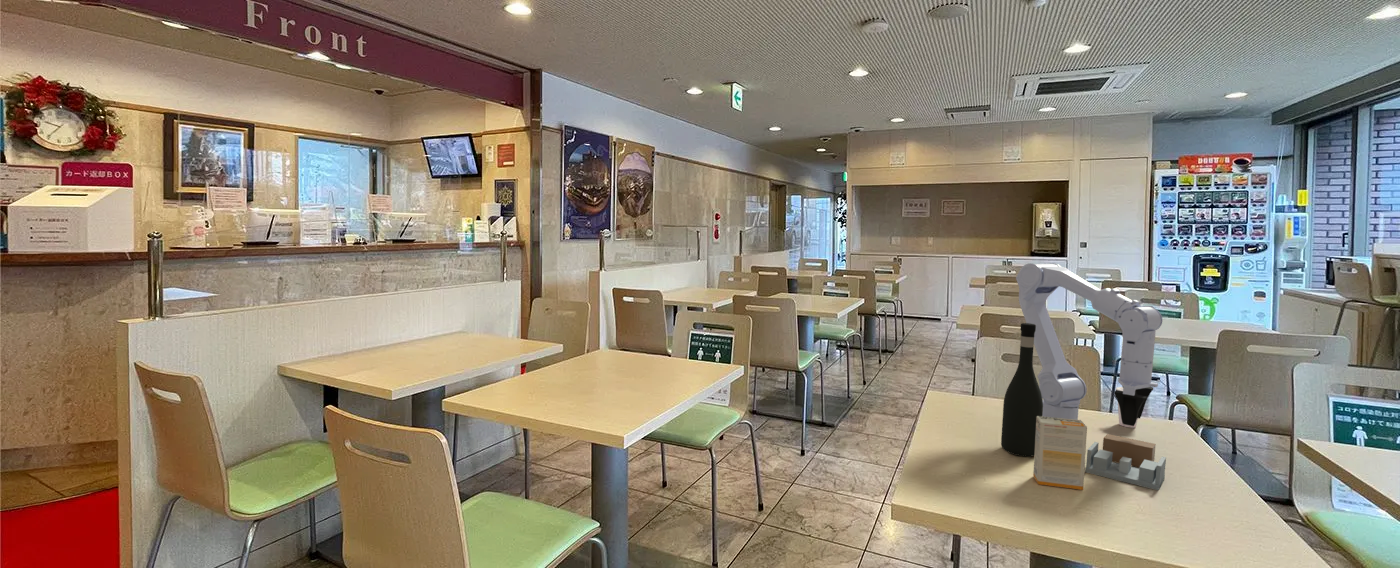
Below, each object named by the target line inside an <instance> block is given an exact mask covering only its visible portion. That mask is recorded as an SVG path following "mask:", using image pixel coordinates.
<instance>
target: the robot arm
mask: <svg viewBox="0 0 1400 568" xmlns="http://www.w3.org/2000/svg"><path fill="white" fill-rule="evenodd" d="M1015 279H1016V282H1017V285H1018V303H1019V304H1018V305H1019V306H1020V309H1021V312H1022V314H1023V318H1024V320H1025V323H1031V324H1035V325H1036V331H1035V334H1034V349H1035V351H1036V354H1037V357H1038V358H1039V361H1040V362H1039V363H1040V364H1041V368H1040V369H1041V370H1040V371H1039V373H1038V374H1037V379H1038V385H1039V388H1040V391H1041V394H1042V400H1043V417H1054V418H1064V419H1075V420H1079V410H1080V409H1079V407H1080V406H1079V405H1080V404H1081V400H1082V399H1084V398H1085V396H1087V395H1086V394H1087V392H1088V391H1087V385H1086V383H1085V381H1084V379H1083V378H1081V377H1080V375H1079V374H1078V371H1077V369H1076V368H1075V367H1074V366H1072V365H1071V364H1069V362H1067V359H1066V357H1065V354H1064V352H1063V351H1064V350H1063V349H1062V346H1061V344H1060V341H1059V338H1058V335H1057V333H1056V332H1057V331H1056V330H1055V327H1054V324H1053V322H1052V319H1051V317H1050V315H1049V312H1048V308H1047V305H1046V301H1048V299H1049V297H1050V296H1051V295H1052V294H1053V293H1054V292H1055V291H1056V290H1057V289H1058V288H1059V287H1060V288H1063V289H1065V290H1067V291H1069V292H1071V293H1073V294H1075V295H1077V296H1079V297H1082V298H1084V299H1085V300H1087V301H1089V302H1090V303H1091V308H1092V309H1093V310H1095V311H1097V312H1098V313H1100V314H1101V315H1104V316H1106V317H1107V318H1109V319H1111V320H1112V321H1114V322H1116V323H1117V324H1118V326H1119V328H1120V329H1121V331H1122V342H1121V355H1120V369H1119V377H1118V379H1117V381H1118V383H1119V384H1120V385H1121V387H1123V391H1118V390H1116V389H1115V391H1114V397H1115V399H1116V400H1117V401H1116V402H1117V404H1118V403H1119V407H1120V412H1121V419H1122V423H1123V424H1125V425H1131V426H1134V425H1135V423H1136V420H1137V418H1138V420H1139V419H1141V417H1142V415H1143V412H1144V409H1145V405H1146V403H1147V401H1148V398H1149V396H1150V395H1151V393H1152V392H1153V390H1154V388H1158V386H1159V383H1158V382H1154V381H1152V376H1153V366H1154V353H1155V343H1156V341H1155V340H1156V331H1158V330H1159V329H1160V328H1161V326H1162V324H1163V315H1162V314H1161V312H1160V311H1159V310H1158V309H1157V308H1155V307H1154V306H1153V305H1141V304H1140V303H1141V302H1140V301H1139V300H1138V299H1130V298H1129V297H1127V296H1125V295H1123V294H1121V290H1119V289H1117V288H1116V287H1115V288H1110V287H1107V288H1102V289H1100V288H1099V287H1097V286H1096V285H1093V284H1092V283H1090V282H1089V281H1087V280H1086V279H1083V278H1082V277H1080V276H1079V275H1077V274H1075V273H1074V272H1072V271H1070V269H1068V267H1065V266H1061V265H1060V264H1058V263H1055V262H1052V263H1051V262H1050V263H1025V264H1024V265H1023V266H1021V268H1020V269H1019V271H1018V273H1017V274H1016V276H1015ZM1138 420H1137V421H1138Z"/></svg>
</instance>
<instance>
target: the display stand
mask: <svg viewBox="0 0 1400 568" xmlns="http://www.w3.org/2000/svg"><path fill="white" fill-rule="evenodd" d="M1112 456H1113V452H1109V451H1105V450H1103V449H1099V442H1098V441H1097V442H1096V441H1094V442H1093V443H1092V444H1091V445H1090V447H1088V448H1087V449H1086V461H1085V470H1084V473H1087V474H1091V475H1096V476H1099V477H1104V478H1107V479H1110V480H1111V479H1112V480H1114V481H1115V480H1116V481H1120V482H1124V483H1128V484H1131V485H1137V486H1140V487H1143V488H1148V489H1151V490H1155V491H1159V490H1160V489H1161V486H1163V483H1164V481H1165V475H1166V465H1167V463H1166V461H1167V456H1161V457H1160V459H1159V461H1158V462H1157V461H1155V460H1154V461H1149V460H1145V459H1144V461H1143V462H1142V464H1141V466H1140V467H1135V466H1131V460H1132V459H1131V458H1127V457H1122V458H1121V459H1120V463H1118V462H1113V461H1112Z"/></svg>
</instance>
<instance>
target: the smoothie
mask: <svg viewBox="0 0 1400 568" xmlns="http://www.w3.org/2000/svg"><path fill="white" fill-rule="evenodd" d="M1116 390H1118V391H1123V387H1122V386H1117V387H1116V388H1115V391H1116ZM1117 411H1118V412H1117V413H1118V415H1117V416H1118V425H1120V426H1122V427H1125V428H1131V429H1132V428H1133V429H1134V428H1136V427H1137V424H1138V420H1139V418H1137V420H1136V423H1135V425H1134V426H1131V425H1125V424H1123V423H1122V419H1121V412H1120V407H1119V403H1118V402H1117Z"/></svg>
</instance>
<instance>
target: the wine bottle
mask: <svg viewBox="0 0 1400 568" xmlns="http://www.w3.org/2000/svg"><path fill="white" fill-rule="evenodd" d="M1019 330H1020V345H1019V347H1020V348H1019V361H1018V365H1017V368H1016V371H1015V373H1014V375H1013V377H1012V379H1011V380H1010V383H1009V384H1008V387H1007V389H1006V390H1005V394H1004V398H1003V407H1002V421H1001V423H1002V424H1001V435H1000V436H1001V438H1000V439H1001V442H1000V445H1001V447H1002V449H1003V450H1004V451H1005V452H1007V453H1008V454H1012V455H1016V456H1018V457H1019V456H1020V457H1034V454H1035V436H1036V419H1037V416H1043V400H1044V399H1043V398H1042V394H1041V391H1040V388H1039V381H1037V377H1036V373H1035V370H1034V363H1033V361H1034V360H1033V359H1034V348H1035V345H1034V334H1035V331H1036V325H1035V324H1031V323H1026V322H1023V323H1021V324H1020V329H1019Z"/></svg>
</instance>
